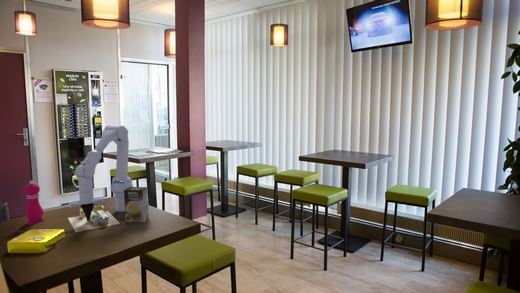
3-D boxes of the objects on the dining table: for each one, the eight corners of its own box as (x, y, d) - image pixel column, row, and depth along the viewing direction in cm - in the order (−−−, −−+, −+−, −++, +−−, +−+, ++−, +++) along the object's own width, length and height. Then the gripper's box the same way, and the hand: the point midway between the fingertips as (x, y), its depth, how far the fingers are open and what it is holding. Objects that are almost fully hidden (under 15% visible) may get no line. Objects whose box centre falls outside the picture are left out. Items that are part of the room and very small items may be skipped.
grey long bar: (102, 215, 176) (102, 208, 176) (110, 225, 162) (110, 217, 162) (93, 217, 174) (92, 210, 173) (100, 227, 160) (100, 219, 159)
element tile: (67, 238, 151) (66, 227, 150) (44, 253, 136) (43, 241, 135) (32, 239, 151) (31, 227, 151) (5, 253, 136) (4, 241, 136)
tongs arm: (93, 216, 174) (93, 209, 173) (100, 224, 163) (99, 215, 163) (87, 218, 172) (87, 210, 172) (94, 225, 162) (93, 217, 161)
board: (108, 213, 184) (107, 211, 184) (120, 226, 164) (120, 223, 164) (68, 220, 174) (67, 217, 174) (75, 234, 154) (75, 232, 154)
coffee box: (124, 224, 167) (122, 189, 165) (131, 219, 173) (129, 186, 171) (144, 224, 166) (142, 189, 164) (149, 220, 172) (147, 186, 170)
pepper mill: (35, 225, 167) (31, 182, 165) (22, 224, 169) (18, 182, 166) (47, 220, 174) (44, 179, 172) (34, 219, 176) (31, 179, 173)
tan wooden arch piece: (102, 211, 182) (102, 205, 181) (104, 214, 178) (104, 207, 177) (80, 215, 176) (79, 208, 176) (81, 218, 172) (81, 211, 172)
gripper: (101, 187, 172) (103, 215, 174) (66, 191, 164) (69, 221, 166) (104, 189, 167) (106, 218, 168) (69, 194, 158) (71, 225, 160)
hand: (88, 220), depth 167 cm, fingers closed
